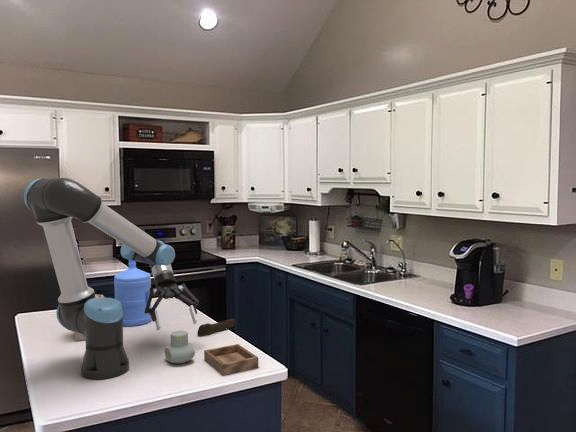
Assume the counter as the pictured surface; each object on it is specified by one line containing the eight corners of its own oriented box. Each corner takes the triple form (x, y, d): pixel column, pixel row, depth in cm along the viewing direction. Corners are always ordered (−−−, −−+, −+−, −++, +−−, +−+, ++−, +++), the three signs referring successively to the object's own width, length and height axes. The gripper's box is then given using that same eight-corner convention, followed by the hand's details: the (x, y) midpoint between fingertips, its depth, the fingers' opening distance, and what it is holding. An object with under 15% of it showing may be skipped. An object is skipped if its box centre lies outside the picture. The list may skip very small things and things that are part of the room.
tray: (222, 375, 160) (222, 365, 159) (204, 360, 173) (204, 350, 173) (258, 367, 166) (258, 357, 166) (238, 353, 180) (238, 343, 180)
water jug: (124, 329, 210) (122, 263, 208) (109, 321, 221) (107, 259, 219) (158, 322, 220) (156, 259, 218) (142, 314, 232) (141, 255, 230)
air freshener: (196, 363, 171) (196, 334, 170) (173, 368, 166) (172, 339, 165) (185, 353, 180) (185, 326, 179) (163, 358, 175) (162, 330, 175)
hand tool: (230, 326, 214) (230, 315, 214) (236, 328, 212) (236, 317, 211) (193, 336, 201) (193, 324, 201) (199, 338, 198) (199, 326, 198)
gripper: (192, 278, 199) (207, 324, 188) (129, 285, 186) (141, 336, 175) (197, 267, 194) (212, 314, 183) (132, 274, 181) (145, 325, 170)
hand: (177, 325), depth 179 cm, fingers open, 13 cm apart
